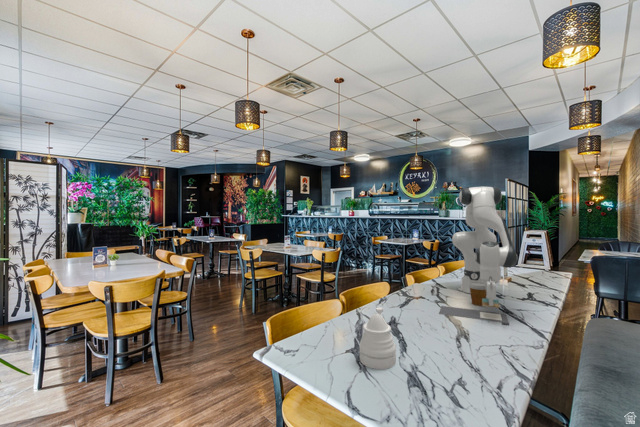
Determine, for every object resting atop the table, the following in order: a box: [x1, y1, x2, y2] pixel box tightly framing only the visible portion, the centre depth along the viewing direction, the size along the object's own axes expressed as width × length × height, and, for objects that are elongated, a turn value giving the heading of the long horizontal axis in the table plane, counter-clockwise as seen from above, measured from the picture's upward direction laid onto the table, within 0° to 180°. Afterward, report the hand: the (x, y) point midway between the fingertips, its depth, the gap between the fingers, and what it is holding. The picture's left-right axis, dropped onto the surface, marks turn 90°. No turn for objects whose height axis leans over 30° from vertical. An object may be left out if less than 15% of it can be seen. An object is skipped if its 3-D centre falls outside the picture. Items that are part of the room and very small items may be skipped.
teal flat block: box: [481, 298, 500, 309], centre depth 146 cm, size 7×5×2 cm
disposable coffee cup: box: [469, 282, 487, 307], centre depth 165 cm, size 10×10×12 cm
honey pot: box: [359, 306, 397, 370], centre depth 108 cm, size 13×13×18 cm
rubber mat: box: [438, 305, 510, 326], centre depth 150 cm, size 14×30×1 cm, turn 63°
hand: (490, 303), depth 146 cm, fingers closed on teal flat block, 5 cm apart
